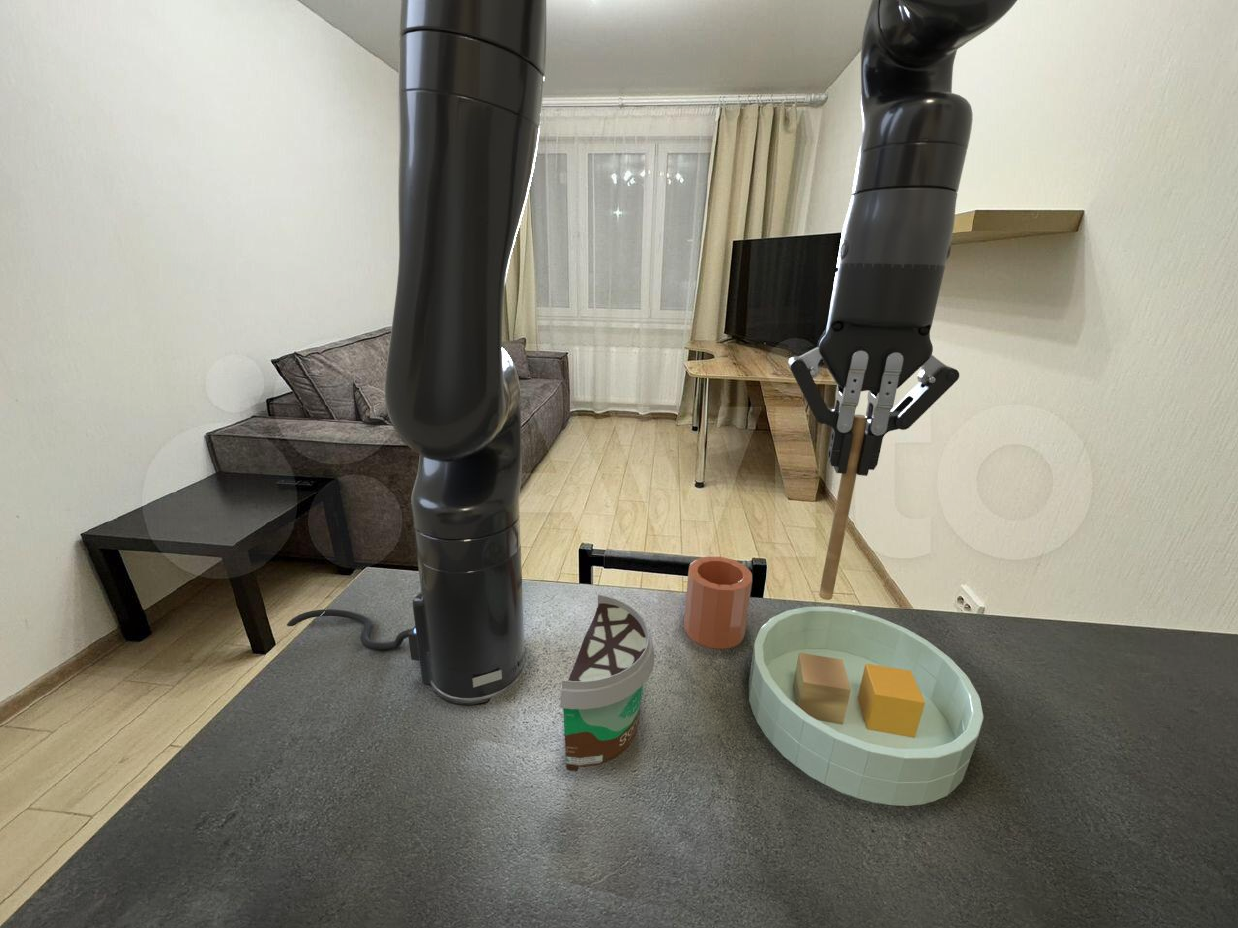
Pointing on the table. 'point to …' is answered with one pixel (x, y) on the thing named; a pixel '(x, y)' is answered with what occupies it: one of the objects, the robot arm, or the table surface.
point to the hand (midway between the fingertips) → (849, 471)
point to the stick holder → (717, 602)
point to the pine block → (821, 687)
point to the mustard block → (890, 700)
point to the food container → (606, 685)
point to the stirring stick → (842, 509)
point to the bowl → (851, 750)
